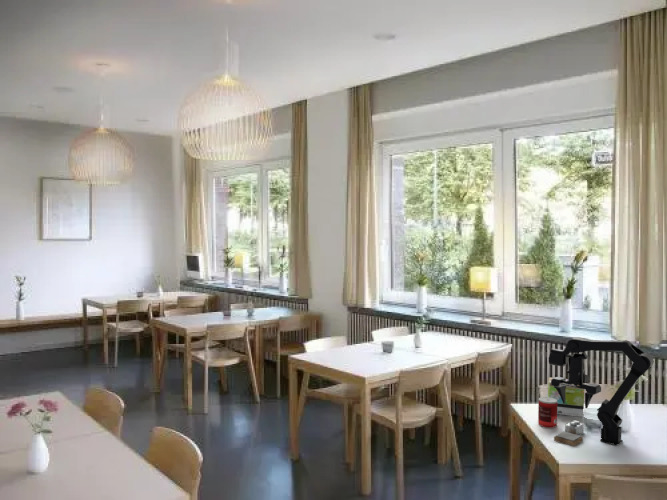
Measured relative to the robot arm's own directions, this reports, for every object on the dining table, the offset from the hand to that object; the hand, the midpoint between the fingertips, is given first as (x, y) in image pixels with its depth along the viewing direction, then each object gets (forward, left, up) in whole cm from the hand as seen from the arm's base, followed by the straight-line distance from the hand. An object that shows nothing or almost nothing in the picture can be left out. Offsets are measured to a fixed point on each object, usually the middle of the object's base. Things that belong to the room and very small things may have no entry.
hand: (575, 405), depth 236 cm
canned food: (+13, -2, -12) cm, 17 cm away
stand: (-2, +10, -12) cm, 15 cm away
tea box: (+15, -24, -12) cm, 31 cm away
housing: (0, 0, -12) cm, 12 cm away
